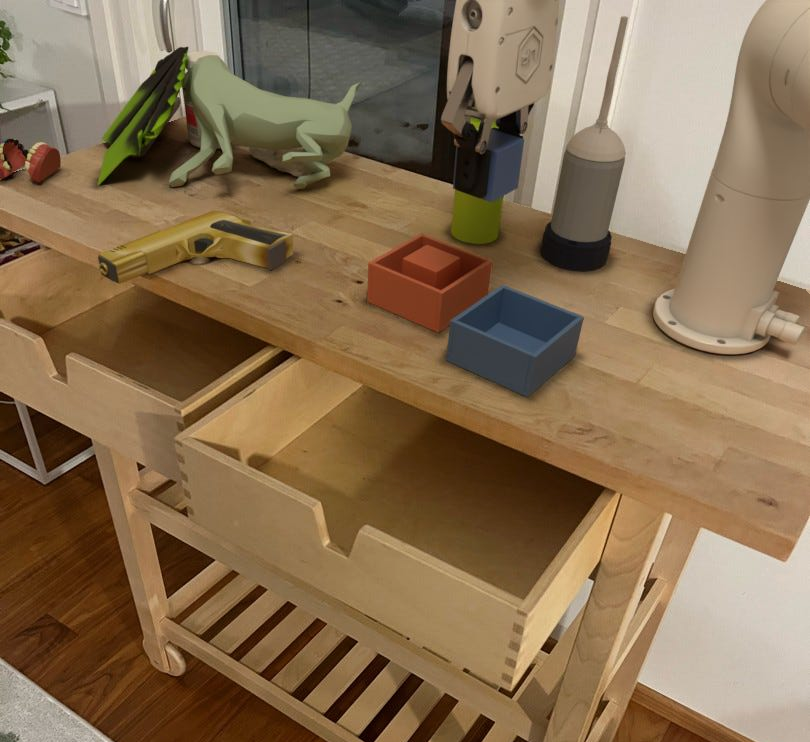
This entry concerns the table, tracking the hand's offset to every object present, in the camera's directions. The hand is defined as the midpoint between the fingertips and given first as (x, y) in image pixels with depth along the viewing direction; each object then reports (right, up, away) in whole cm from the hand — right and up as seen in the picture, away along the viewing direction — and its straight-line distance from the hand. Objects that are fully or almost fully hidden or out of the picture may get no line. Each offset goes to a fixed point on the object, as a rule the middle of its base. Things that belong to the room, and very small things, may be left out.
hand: (486, 182), depth 77 cm
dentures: (-52, +15, +29) cm, 61 cm away
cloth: (-42, +23, +31) cm, 57 cm away
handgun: (-26, -4, +13) cm, 29 cm away
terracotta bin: (-5, -7, +14) cm, 16 cm away
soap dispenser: (+1, +5, +26) cm, 26 cm away
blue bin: (+3, -15, +7) cm, 17 cm away
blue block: (0, 0, 0) cm, 1 cm away
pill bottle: (-35, +24, +42) cm, 60 cm away
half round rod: (-44, +27, +42) cm, 67 cm away
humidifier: (+13, +1, +24) cm, 27 cm away
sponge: (-24, +19, +38) cm, 49 cm away
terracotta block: (-5, -6, +14) cm, 16 cm away
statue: (-24, +12, +31) cm, 41 cm away
